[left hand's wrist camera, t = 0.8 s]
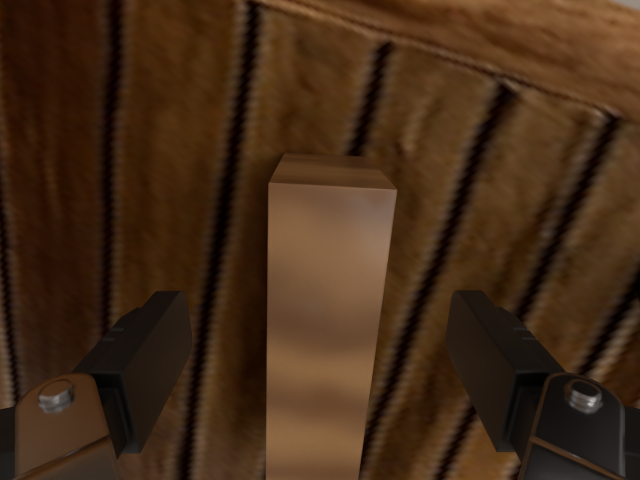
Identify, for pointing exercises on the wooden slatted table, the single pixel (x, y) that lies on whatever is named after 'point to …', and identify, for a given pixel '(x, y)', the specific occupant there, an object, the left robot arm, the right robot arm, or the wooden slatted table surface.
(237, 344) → the wooden slatted table surface
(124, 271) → the wooden slatted table surface
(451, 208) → the wooden slatted table surface
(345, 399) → the box
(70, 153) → the wooden slatted table surface
